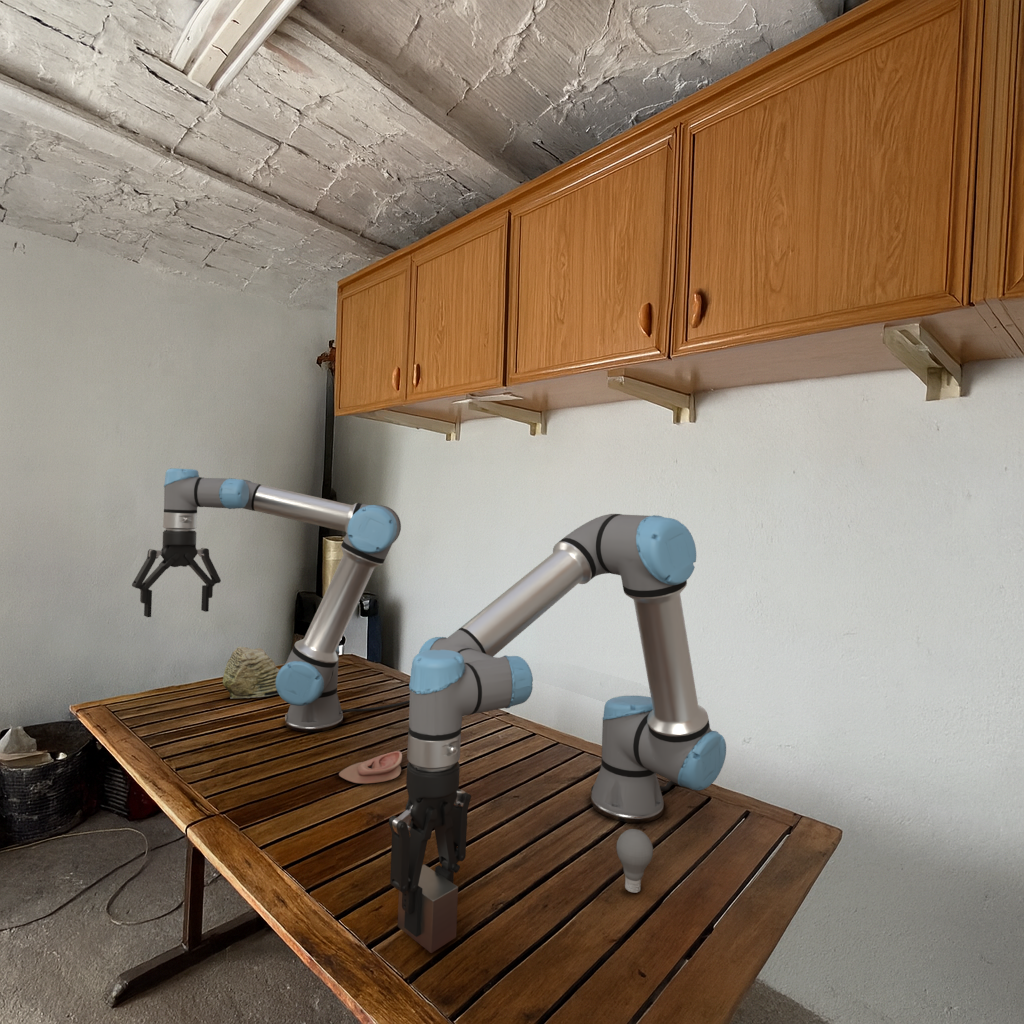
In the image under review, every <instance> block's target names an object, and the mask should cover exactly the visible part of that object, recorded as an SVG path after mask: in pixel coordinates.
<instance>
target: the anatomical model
mask: <svg viewBox="0 0 1024 1024" xmlns="http://www.w3.org/2000/svg"><path fill="white" fill-rule="evenodd" d="M402 761H403V754H402V751H399V750H397V751H391V752H387V753H384V754H381V755H377V756H375V757H373V758H370V759H367V760H365V761H361V762H355V763H353V764H351V765H349V766H347V767H345V768H343V769H342V770H341V771H340V772H339V773H338V776H339V777H340V778H342V779H344V780H346V781H347V782H350V783H352V784H353V783H354V784H375V783H383V782H387V781H391V780H393V779H396V778H398V777H399V776H400V774H401V772H402V767H401V763H402Z"/></svg>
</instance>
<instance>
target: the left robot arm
mask: <svg viewBox="0 0 1024 1024" xmlns="http://www.w3.org/2000/svg"><path fill="white" fill-rule="evenodd" d="M199 474H200V473H199V471H198V470H197V469H193V468H191V469H190V468H175V467H174V468H173V467H171V468H168V469H167V470H166V472H165V475H164V484H163V489H164V490H163V494H164V495H163V499H164V501H163V518H162V521H163V522H162V523H163V524H162V527H163V529H165V530H163V531H162V548H161V550H158V549H152V548H149V549H148V550H147V555H146V556H147V557H146V559H145V561H144V562H143V564H142V566H141V568H140V569H139V571H138V573H137V574H136V577H135V578H134V580H133V581H132V583H131V586H132V587H133V588H135V589H138V590H140V592H139V593H140V595H139V597H140V598H139V602H140V603H141V604H143V616H144V617H146V618H151V617H152V605H153V603H152V602H153V590H152V589H150V588H151V587H152V586H153V585H154V583H155V582H156V581H157V580H159V578H160V577H161V576H162V575H163V574H164V573H165V572H166V570H168V569H169V568H170V567H172V568H178V567H182V568H183V567H184V568H186V567H189V568H191V570H193V572H194V573H195V574H196V575H197V576H198V577H199V578H200V579H201V581H202V582H203V583H204V585H203V584H202V585H201V609H200V610H201V611H202V612H204V613H207V612H209V610H210V609H209V607H210V599H212V598H213V596H214V595H213V593H214V592H213V591H214V586H215V585H216V584H220V583H221V582H222V581H221V577H220V576H219V573H218V571H217V570H216V567H215V565H214V563H213V561H212V559H211V557H210V549H209V548H206V547H201V548H198V549H197V531H196V530H195V529H197V526H198V508H213V509H214V508H215V509H228V510H235V509H242V510H243V509H244V510H248V511H253V512H258V513H262V514H267V515H272V516H276V517H279V518H283V519H288V520H294V521H297V522H301V523H305V524H310V525H314V526H319V527H322V528H323V527H324V528H327V529H331V530H337V531H340V532H345V536H344V538H343V540H342V542H341V545H340V549H341V550H342V551H341V552H342V556H341V559H340V561H339V562H338V565H337V566H336V569H335V571H334V574H333V576H332V579H331V580H330V582H329V584H328V587H327V589H326V590H325V593H324V595H323V597H322V599H321V601H320V604H319V605H318V608H317V610H316V612H315V613H314V616H313V618H312V620H311V622H310V624H309V627H308V629H307V631H306V633H305V635H304V637H303V639H300V640H296V642H295V643H294V645H293V646H292V649H291V651H290V653H289V655H288V657H287V660H286V662H285V664H284V665H282V666H281V667H280V669H279V672H278V674H277V677H276V689H277V692H278V694H277V695H279V697H280V698H281V699H282V700H283V701H284V702H285V703H286V704H289V708H288V711H287V712H286V714H285V715H284V719H285V726H286V728H287V729H289V730H291V731H294V732H295V731H296V732H301V733H316V732H325V731H329V730H332V729H335V728H337V727H339V726H340V725H342V723H343V722H344V714H343V713H354V712H355V713H356V712H359V713H360V712H369V711H378V710H383V709H389V708H395V707H399V706H402V705H406V704H407V705H408V704H410V699H408V700H404V701H402V702H401V701H400V702H397V703H392V704H391V703H390V704H386V705H381V706H373V707H366V708H345V709H342V706H341V702H340V699H339V695H338V682H339V681H338V680H339V678H338V677H339V660H340V659H339V657H340V656H339V655H340V645H339V644H340V642H341V640H342V638H343V637H344V634H345V632H346V630H347V627H348V626H349V623H350V621H351V620H352V616H353V615H354V612H355V611H356V609H357V606H358V604H359V602H360V600H361V598H362V595H363V594H364V591H365V590H366V587H367V585H368V583H369V580H370V578H371V577H372V574H373V572H374V570H375V569H376V568H377V567H379V566H383V564H384V562H385V560H386V559H387V556H388V554H389V552H390V550H391V548H392V546H393V544H394V543H395V542H396V541H397V540H398V538H399V536H400V534H401V531H402V523H401V519H400V517H399V515H398V514H397V512H396V511H395V510H394V509H392V508H390V507H389V506H386V505H381V504H366V503H361V502H355V503H354V504H349V503H345V502H339V501H336V500H332V499H326V498H322V497H319V496H313V495H309V494H306V493H300V492H296V491H292V490H288V489H283V488H279V487H274V486H271V485H266V484H260V483H257V482H252V481H251V480H247V479H243V478H242V479H239V478H238V479H237V478H231V477H229V478H223V477H222V478H221V477H202V476H200V475H199ZM197 555H198V556H199V557H200V559H201V560H202V563H203V565H204V567H205V569H206V571H207V572H208V574H209V576H208V574H207V573H206V572H205V571H204V570H203V569H202V567H201V566H200V565H199V564H198V562H196V559H195V558H196V557H197ZM160 556H161V558H162V561H161V562H159V564H158V566H157V567H156V568H155V569H154V570H153V571H152V572H151V574H149V572H150V571H151V570H152V567H153V566H154V564H155V562H156V559H158V558H159V557H160ZM148 574H149V575H148ZM146 577H147V578H146Z"/></svg>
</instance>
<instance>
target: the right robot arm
mask: <svg viewBox="0 0 1024 1024" xmlns="http://www.w3.org/2000/svg"><path fill="white" fill-rule="evenodd" d="M696 562H697V547H696V542H695V539H694V537H693V535H692V533H691V532H690V530H689V529H688V527H687V526H686V525H685V524H683V523H682V522H681V521H679V520H678V519H675V518H672V517H664V516H662V515H657V514H656V515H655V514H654V515H644V514H643V515H642V514H622V513H608V514H604V515H600V516H598V517H595V518H593V519H591V520H589V521H587V522H585V523H583V524H582V525H580V526H579V527H577V528H575V529H574V530H572V531H570V533H568V534H566V535H565V536H564V537H563V538H561V540H559V541H558V542H557V543H555V544H554V546H553V548H552V553H551V554H550V555H549V556H547V557H546V558H545V559H544V560H542V561H541V562H540V563H539V564H537V565H536V566H535V567H534V568H533V569H531V570H530V571H529V572H527V573H526V574H525V575H524V576H522V577H521V578H520V579H519V580H518V581H516V582H515V583H514V584H513V585H512V586H510V587H509V588H508V589H506V590H505V591H504V592H502V594H500V595H499V596H498V597H497V598H495V599H494V600H493V601H492V602H491V603H489V604H488V605H487V606H486V607H484V608H483V609H482V610H480V611H479V612H478V613H477V614H476V615H474V616H473V617H472V618H470V619H469V620H468V621H467V622H466V623H464V624H463V625H462V626H461V627H459V628H458V629H456V631H453V633H452V634H450V635H449V636H447V637H446V636H435V637H431V638H429V639H428V640H426V641H425V642H424V643H423V644H422V646H421V647H420V649H419V651H418V653H416V655H415V656H414V657H413V658H412V661H411V668H410V678H409V684H408V689H409V700H410V703H409V707H408V711H409V712H408V733H407V750H406V751H407V753H406V759H407V761H408V762H407V764H406V781H405V786H406V787H405V788H406V791H407V795H408V799H407V802H406V804H405V808H404V809H405V810H404V811H403V812H402V813H401V814H399V816H395V815H392V816H390V817H389V820H388V825H389V828H390V831H391V847H390V848H391V851H390V852H391V853H390V875H389V876H390V877H389V883H390V885H391V886H392V887H393V888H394V889H396V890H397V891H398V892H399V891H400V892H402V909H403V910H404V911H405V923H404V928H406V929H407V930H408V931H409V932H411V933H412V934H413V935H414V936H416V937H417V936H419V935H421V910H422V888H421V887H420V886H418V884H419V879H420V874H421V869H422V865H424V859H425V856H426V855H425V854H426V849H427V846H428V841H429V840H431V838H432V834H433V830H434V835H435V843H436V848H437V855H438V860H439V864H438V865H436V866H435V867H434V871H435V872H436V873H438V874H439V875H441V876H442V877H444V878H445V879H447V880H448V881H450V882H452V883H453V884H454V878H455V877H454V876H455V874H456V873H458V872H459V871H460V869H461V865H459V864H458V863H459V862H463V861H464V860H465V859H466V854H467V853H466V852H467V835H468V834H467V833H468V812H469V811H468V810H469V807H470V803H471V799H472V795H471V794H470V793H468V792H467V791H464V790H463V789H460V788H459V787H460V773H461V765H460V762H459V761H460V758H461V743H462V741H461V740H462V739H461V738H462V725H463V717H465V716H470V715H475V714H480V713H481V714H482V713H485V712H486V713H487V712H492V711H496V710H501V709H510V708H511V707H514V706H518V705H522V704H524V703H525V702H527V701H528V699H529V698H530V697H531V695H532V692H533V688H534V687H533V681H534V678H533V673H532V669H531V667H530V665H529V663H528V662H527V661H526V660H525V659H524V658H523V657H521V656H518V655H503V656H500V657H497V656H496V655H497V654H498V653H499V652H501V650H503V649H504V648H505V647H506V646H507V645H508V644H510V643H511V642H512V641H513V640H515V639H516V638H517V637H518V636H520V634H521V633H522V632H524V631H525V630H526V629H527V628H529V627H530V626H531V625H532V624H533V623H534V622H535V621H536V620H538V619H539V618H540V617H541V616H542V615H544V614H545V613H546V612H547V611H548V610H549V609H551V608H552V607H553V606H554V605H555V604H556V603H557V602H559V601H560V600H561V599H562V598H564V597H565V596H566V595H567V594H568V593H569V592H571V590H573V589H574V588H575V587H576V586H577V585H585V584H588V583H590V582H591V580H593V579H594V578H595V577H598V576H600V575H604V574H605V575H606V574H611V575H616V576H620V577H621V585H622V590H623V593H624V595H625V596H627V597H628V598H630V599H632V600H633V603H634V609H635V615H636V621H637V627H638V632H639V637H640V644H641V649H642V654H643V661H644V667H645V672H646V677H647V682H648V683H647V684H648V690H649V695H650V696H646V695H620V696H615V697H611V698H609V699H608V700H607V701H606V702H605V704H604V708H603V717H602V727H601V728H602V729H601V730H602V733H601V761H600V768H599V771H598V774H597V777H596V779H595V781H594V783H593V785H592V786H591V789H590V794H591V795H590V804H591V806H592V807H593V809H594V810H595V811H596V812H597V813H599V814H601V815H602V816H604V817H607V818H608V819H610V820H615V821H618V822H622V823H630V824H643V823H644V824H645V823H649V822H653V821H656V820H658V819H659V818H660V817H662V815H663V813H664V805H665V804H664V803H665V802H664V797H663V793H662V792H667V791H669V790H670V789H671V787H672V786H673V785H678V786H680V787H684V788H687V789H690V790H692V791H697V792H698V791H699V792H700V791H703V790H705V789H707V788H709V787H710V786H711V785H712V784H713V783H714V782H715V781H716V780H717V778H718V777H719V775H720V773H721V771H722V769H723V767H724V764H725V761H726V755H727V743H726V739H725V737H724V736H723V735H722V734H720V733H719V731H717V730H713V729H711V726H710V725H711V724H710V719H709V715H708V712H707V710H706V709H705V708H704V707H703V706H701V705H700V704H699V701H698V696H697V689H696V684H695V683H696V682H695V677H694V671H693V670H694V669H693V664H692V659H691V652H690V646H689V640H688V634H687V633H688V632H687V628H686V627H687V626H686V622H685V616H684V614H685V613H684V609H683V603H682V599H681V598H682V596H681V593H682V592H683V591H684V590H685V588H687V586H688V580H689V578H691V576H692V574H693V572H694V570H695V569H696V568H695V565H694V563H696ZM658 775H659V776H661V777H662V778H665V779H667V780H669V781H667V783H666V785H664V786H663V785H660V783H659V777H658ZM440 864H441V865H440Z"/></svg>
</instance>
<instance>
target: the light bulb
mask: <svg viewBox="0 0 1024 1024" xmlns="http://www.w3.org/2000/svg"><path fill="white" fill-rule="evenodd" d="M615 849H616V854H617V857H618V859H619V861H620V863H621V865H622V867H623V873H624V874H623V875H624V876H625V878H624V888H625V890H627V891H628V892H630V893H634V894H635V893H639V892H640V891H641V889H642V887H641V886H642V879H643V877H644V875H645V871H646V868H647V867H648V866H649V864H650V863H651V861H652V859H653V855H654V847H653V843H652V841H651V838H649V836H648V835H647V834H646V833H645V832H643V831H642V830H641V829H636V828H629V829H627V830H625V831H623V832H622V833H621V834H620V835H619V837H618V839H617V841H616V847H615Z"/></svg>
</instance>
